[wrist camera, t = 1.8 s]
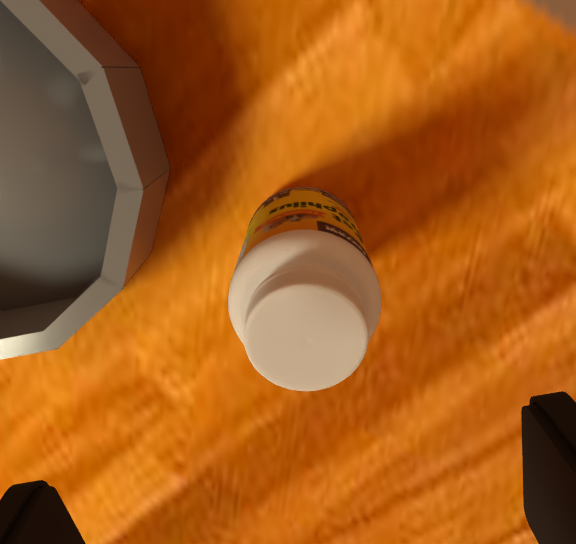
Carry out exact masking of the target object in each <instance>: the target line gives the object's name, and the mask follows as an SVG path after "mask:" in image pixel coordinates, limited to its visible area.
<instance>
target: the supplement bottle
mask: <svg viewBox="0 0 576 544" xmlns="http://www.w3.org/2000/svg"><path fill="white" fill-rule="evenodd" d="M381 305H382V301H381V290H380V286H379V282H378V279H377V276H376V273H375V270H374V268H373V265H372V263H371V260H370V257H369V255H368V252H367V250H366V247H365V245H364V243H363V240H362V237H361V235H360V232H359V229H358V227H357V224H356V222H355V220H354V218H353V216H352V214H351V212H350V211H349V209H348V208H347V207H346V205H345V204H344V203H343V202H342V201H340V200H339V199H338V198H337V197H335V196H334V195H332V194H330V193H329V192H326V191H324V190H321V189H318V188H313V187H294V188H289V189H285V190H282V191H280V192H278V193H276V194H274V195H272V196H271V197H269V198H268V199H267V200H266V201H264V202H263V203H262V204H261V206H260V207H259V208H258V209H257V211H256V212H255V214H254V215H253V217H252V219H251V221H250V224H249V227H248V230H247V234H246V237H245V240H244V243H243V246H242V249H241V252H240V256H239V259H238V262H237V265H236V268H235V270H234V274H233V277H232V279H231V284H230V289H229V296H228V307H229V315H230V319H231V322H232V325H233V327H234V330H235V332H236V333H237V335H238V337H239V338H240V340H241V341H242V343H243V344H244V345H245V349H246V353H247V355H248V358H249V360H250V361H251V363H252V364H253V366H254V367H255V369H256V370H257V371H258V372H259V373H260V374H261V375H262V376H264V377H265V378H266V379H268V380H269V381H271V382H272V383H274V384H276V385H278V386H281V387H284V388H287V389H292V390H298V391H315V390H320V389H324V388H328V387H331V386H333V385H335V384H338V383H339V382H341V381H343V380H344V379H345V378H347V377H348V376H350V375H351V374H352V373H353V372H354V371H355V370H356V369H357V367H358V366H359V365H360V363H361V361H362V360H363V358H364V356H365V353H366V350H367V346H368V341H369V339H370V338H371V336H372V334H373V332H374V331H375V329H376V326H377V324H378V321H379V317H380V313H381Z"/></svg>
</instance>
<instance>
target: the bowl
mask: <svg viewBox="0 0 576 544" xmlns="http://www.w3.org/2000/svg"><path fill="white" fill-rule="evenodd" d="M169 173H170V164H169V161H168V157H167V154H166V151H165V148H164V144H163V141H162V138H161V134H160V131H159V128H158V125H157V121H156V118H155V115H154V112H153V108H152V105H151V102H150V98H149V95H148V92H147V89H146V85H145V82H144V79H143V75H142V72H141V69H140V68H139V66H138V65H137V64H136V63H135V61H134V60H133V59H132V58H131V57H130V56H129V55H128V54H127V53H126V52H125V51H124V50H123V49H122V48H121V46H120V45H119V44H118V43H117V42H116V41H115V40H114V39H113V38H112V37H111V36H110V35H109V34H108V33H107V31H106V30H105V29H104V28H103V27H102V26H101V25H100V24H99V23H98V22H97V21H96V20H95V19H94V18H93V16H92V15H91V14H90V13H89V12H88V11H87V10H86V9H85V8H84V7H83V6H82V5H81V4H80V3H79V1H78V0H0V359H6V358H11V357H17V356H22V355H28V354H33V353H38V352H44V351H49V350H55V349H58V348H59V347H60V346H62V345H63V344H64V343H65V342H66V341H67V340H68V339H69V338H70V337H71V336H72V335H73V334H74V333H76V332H77V331H78V330H79V329H80V328H81V327H82V326H83V325H84V324H85V323H86V322H87V321H89V320H90V319H91V318H92V317H93V316H94V315H95V314H96V313H97V312H98V311H99V310H100V309H101V308H103V307H104V306H105V305H106V304H107V303H108V302H109V301H110V300H111V299H112V298H113V297H114V296H116V295H117V294H118V293H119V292H120V291H121V290H122V289H123V288H124V286H125V285H126V284H127V283H128V281H129V280H130V279H131V277H132V276H133V275H134V274H135V272H136V271H137V270H138V269H139V267H140V266H141V265H142V263H143V262H144V261H145V260H146V258H147V257H148V256H149V255H150V253H151V252H152V248H153V243H154V239H155V235H156V230H157V226H158V221H159V217H160V213H161V208H162V204H163V199H164V195H165V191H166V186H167V182H168V178H169Z"/></svg>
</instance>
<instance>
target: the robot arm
mask: <svg viewBox="0 0 576 544" xmlns="http://www.w3.org/2000/svg"><path fill="white" fill-rule="evenodd" d="M521 414H522V455H523V497H524V511H525V515H526V518H527V521H528V524H529V526H530V528H531V530H532V532H533V534H534V535H535V537H536V539H537V541H538V543H539V544H576V403H575V401H574V400H573V399H572V398H571V397H570V396H569V395H568V394H567V393H566V392H563V391H562V392H556V393H550V394H544V395H538V396H533V397H531V399H530V404H529V405H528V406H523V407H522V412H521ZM0 544H85V542H84V540H83V538H82V536H81V534H80V533H79V531H78V529H77V527H76V525H75V523H74V521H73V520H72V518H71V516H70V514H69V512H68V510H67V509H66V507H65V505H64V503H63V501H62V499H61V498H60V496H59V494H58V492H57V490H56V489H55V488H54V487H52V486H49V485H48V484H47V482H45V481H43V480H39V481H33V482H27V483H21V484H15V485H13V486H11V487H10V488H9V489H8V490H7V491H6V492H5V494H4V495H3V497H2V498H1V500H0Z"/></svg>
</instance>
